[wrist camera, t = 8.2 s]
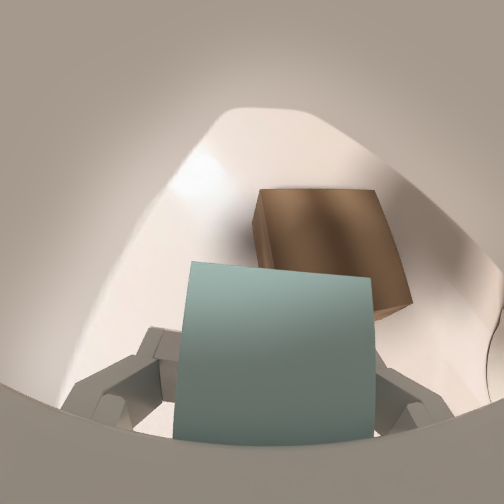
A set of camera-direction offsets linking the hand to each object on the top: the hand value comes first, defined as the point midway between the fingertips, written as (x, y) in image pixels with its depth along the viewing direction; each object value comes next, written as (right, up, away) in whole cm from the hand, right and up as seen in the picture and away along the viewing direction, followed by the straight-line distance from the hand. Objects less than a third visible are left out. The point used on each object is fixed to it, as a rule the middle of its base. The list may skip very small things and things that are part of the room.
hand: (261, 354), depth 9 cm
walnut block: (+6, +1, +20) cm, 21 cm away
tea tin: (-1, -2, +4) cm, 4 cm away
